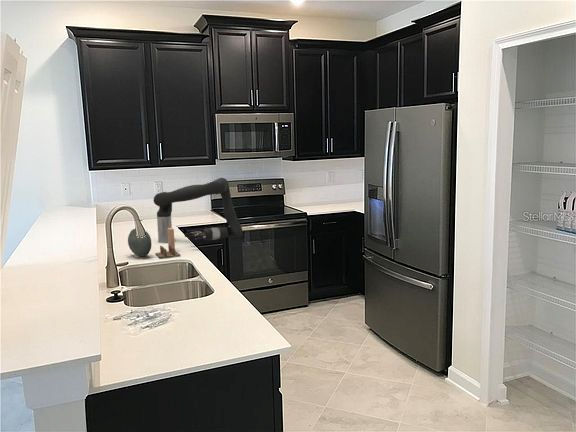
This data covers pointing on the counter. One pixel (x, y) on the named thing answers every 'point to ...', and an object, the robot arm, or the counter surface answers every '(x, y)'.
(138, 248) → the dark green ellipsoid
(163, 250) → the walnut rack
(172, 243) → the terracotta card
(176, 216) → the counter surface
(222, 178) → the robot arm
